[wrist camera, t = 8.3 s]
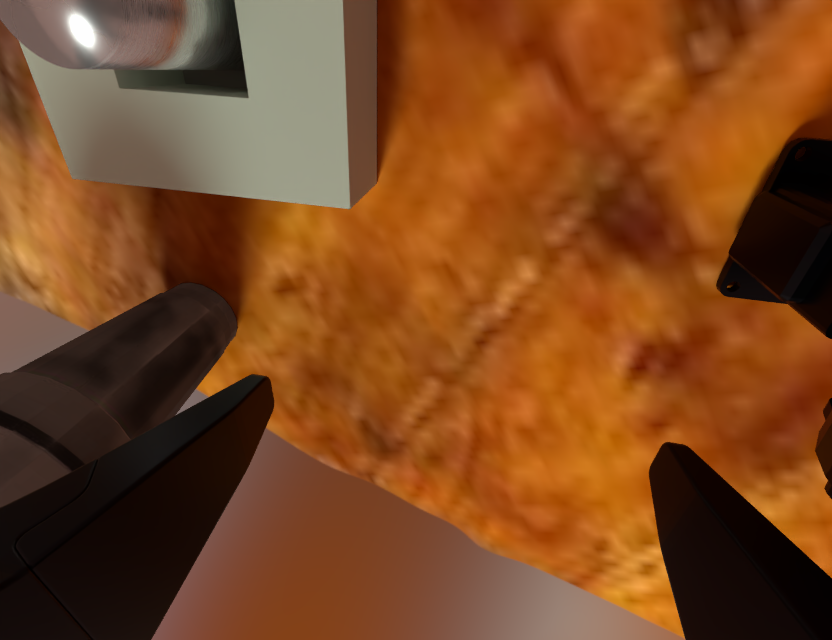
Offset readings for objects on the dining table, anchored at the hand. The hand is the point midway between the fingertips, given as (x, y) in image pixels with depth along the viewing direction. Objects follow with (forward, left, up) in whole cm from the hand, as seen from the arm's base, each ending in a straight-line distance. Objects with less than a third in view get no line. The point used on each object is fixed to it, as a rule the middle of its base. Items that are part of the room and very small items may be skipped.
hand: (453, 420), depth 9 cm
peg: (+11, -8, -12) cm, 18 cm away
